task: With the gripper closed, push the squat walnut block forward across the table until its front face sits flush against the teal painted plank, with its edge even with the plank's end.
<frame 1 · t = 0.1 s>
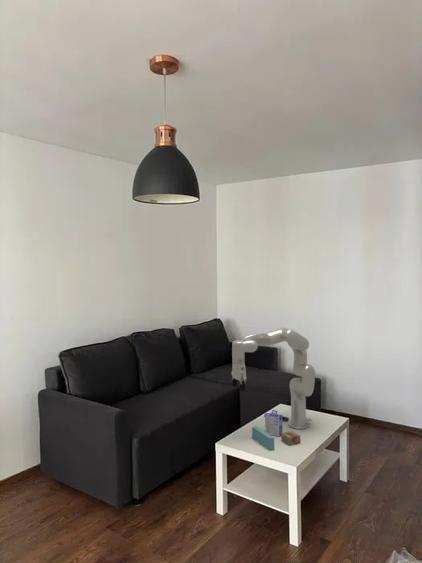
hand: (238, 388, 259), 31 cm above the table, tool pointing down, fingers open, 9 cm apart
teal plank: (262, 443, 253), on the table
ink cartridge box: (274, 434, 267), on the table
walnut block: (290, 442, 254), on the table
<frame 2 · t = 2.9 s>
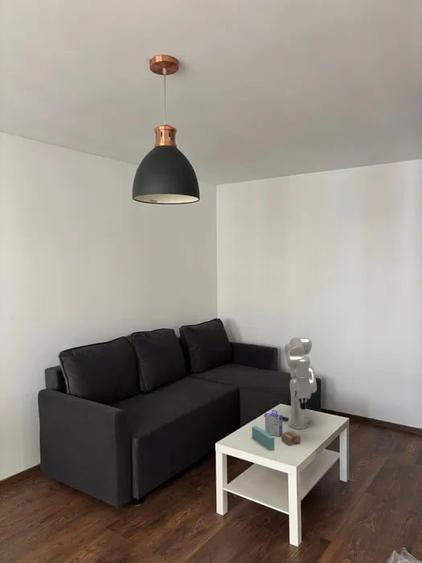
hand: (302, 408, 257), 19 cm above the table, tool pointing down, fingers closed
nothing on the table moved.
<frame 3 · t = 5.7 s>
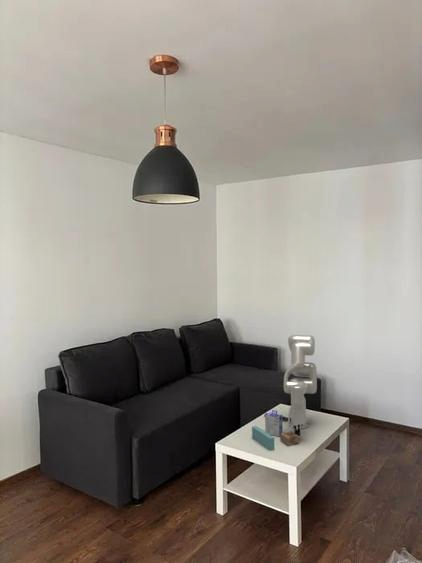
hand: (297, 435, 256), 3 cm above the table, tool pointing down, fingers closed
walnut block: (289, 442, 254), on the table
everything else where it was.
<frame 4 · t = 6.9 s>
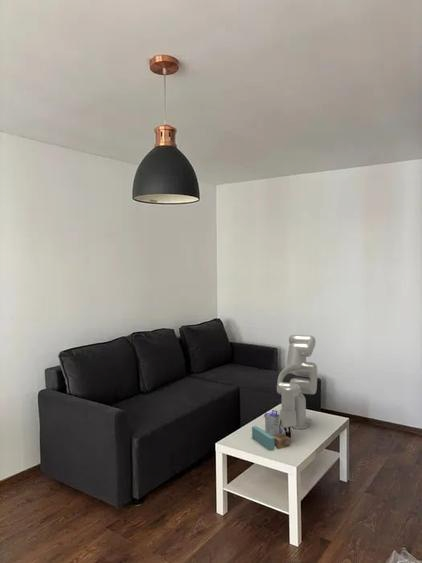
hand: (288, 437, 253), 3 cm above the table, tool pointing down, fingers closed
walnut block: (280, 445, 251), on the table, touching gripper
everything else where it was.
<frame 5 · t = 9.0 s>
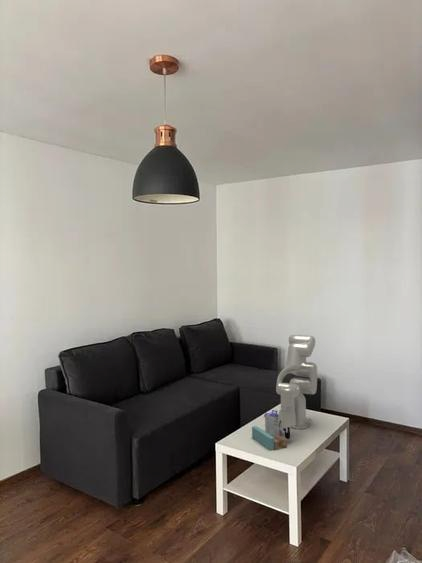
hand: (287, 438, 253), 3 cm above the table, tool pointing down, fingers closed
walnut block: (277, 446, 249), on the table
everything else where it was.
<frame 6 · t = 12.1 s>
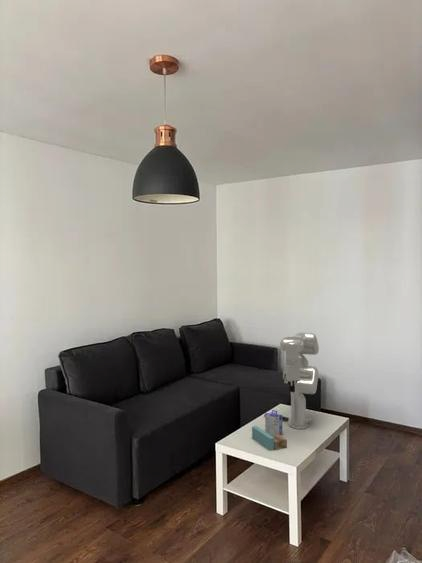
hand: (292, 391, 258), 29 cm above the table, tool pointing down, fingers closed
nothing on the table moved.
at the end: walnut block 0.9 cm from the target spot on the table beside the teal plank, on the table; walnut block tilted 0° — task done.
